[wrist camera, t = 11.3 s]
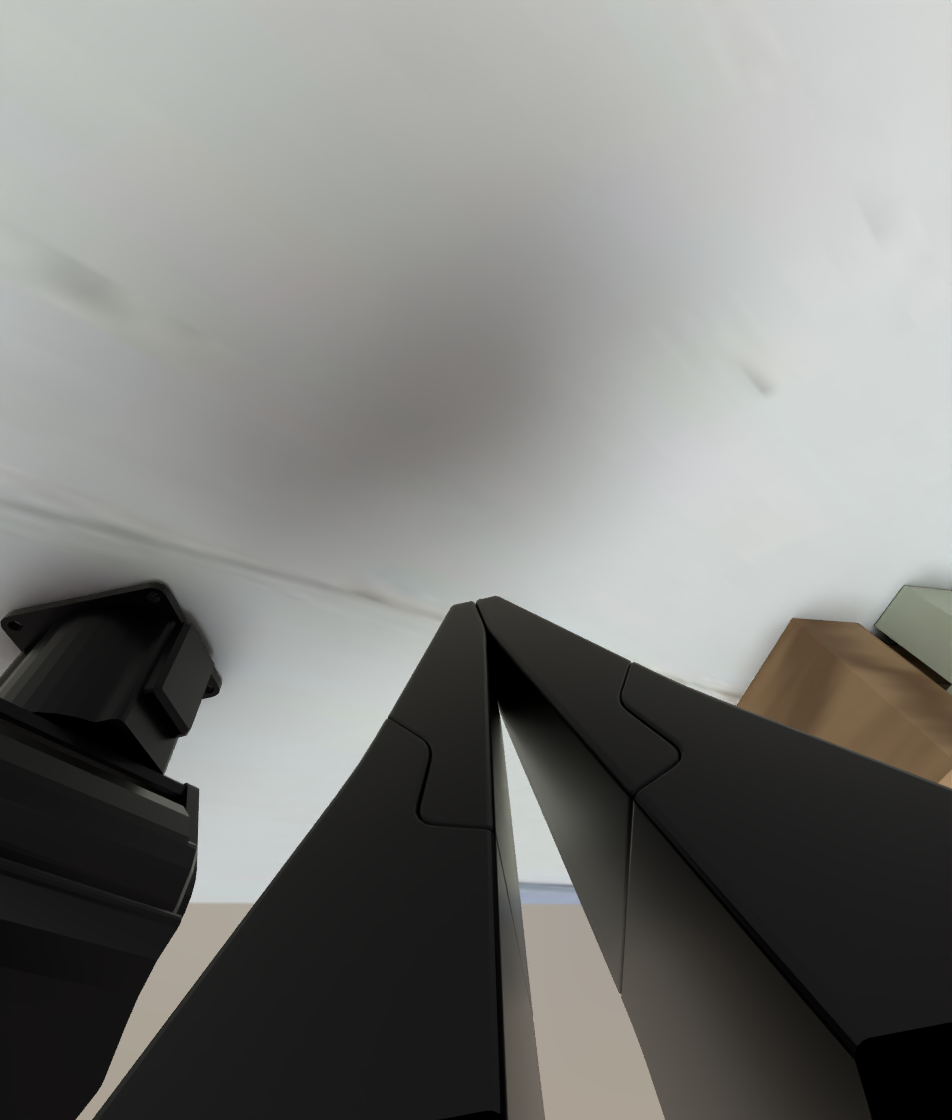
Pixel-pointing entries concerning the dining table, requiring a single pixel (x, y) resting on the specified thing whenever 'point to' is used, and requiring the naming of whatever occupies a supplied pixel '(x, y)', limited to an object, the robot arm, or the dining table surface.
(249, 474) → the dining table surface
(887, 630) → the green miniature desk
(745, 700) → the rectangular block
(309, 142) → the dining table surface
